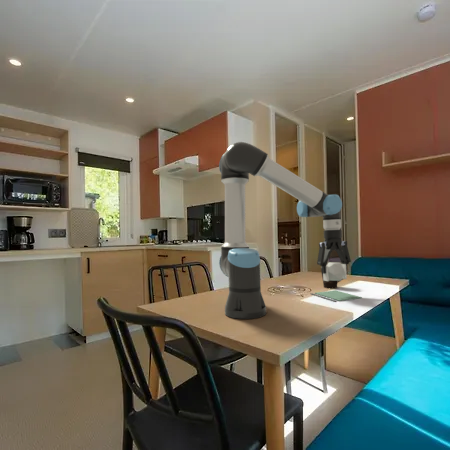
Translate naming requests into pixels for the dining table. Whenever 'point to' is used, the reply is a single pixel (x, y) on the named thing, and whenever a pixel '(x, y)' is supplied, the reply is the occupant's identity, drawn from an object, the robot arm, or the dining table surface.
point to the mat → (338, 295)
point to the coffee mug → (329, 283)
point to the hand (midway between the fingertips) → (335, 279)
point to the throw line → (323, 297)
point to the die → (335, 271)
